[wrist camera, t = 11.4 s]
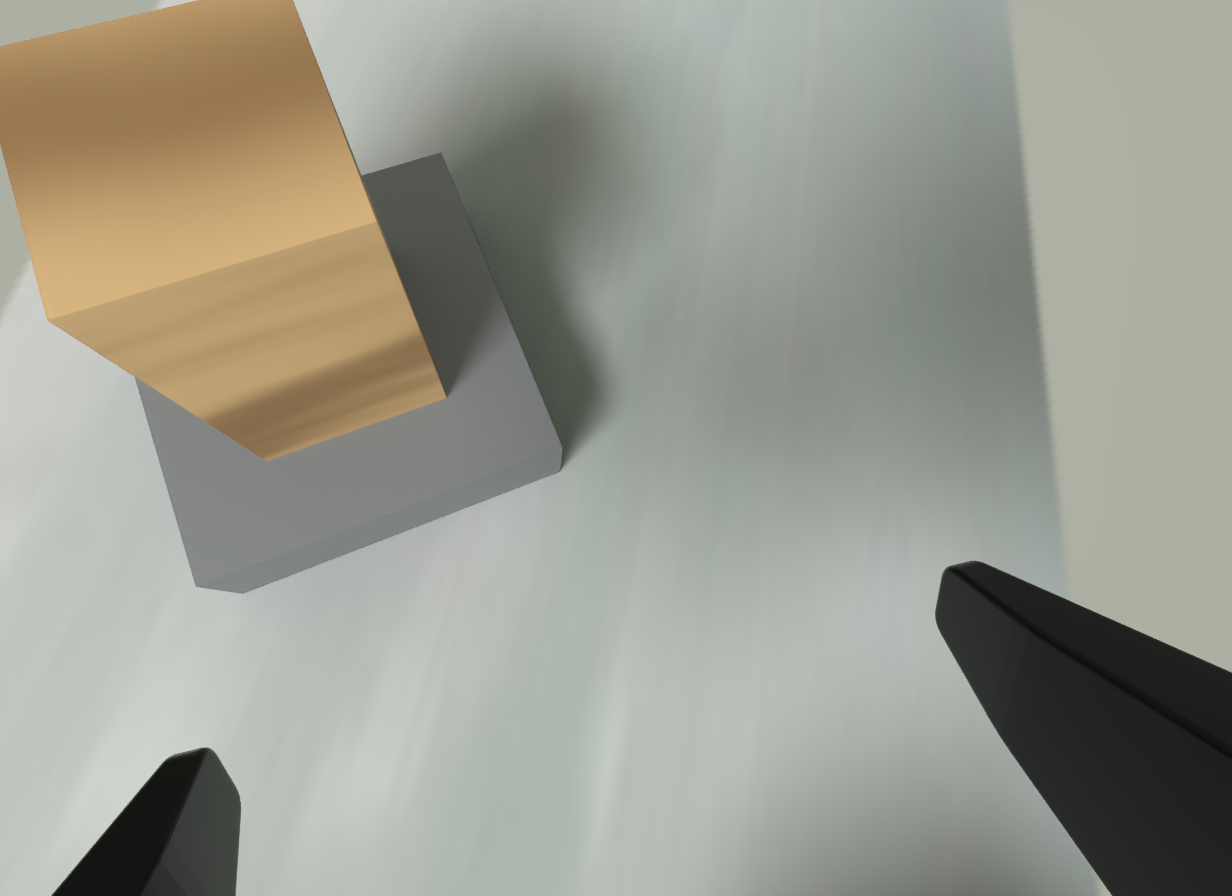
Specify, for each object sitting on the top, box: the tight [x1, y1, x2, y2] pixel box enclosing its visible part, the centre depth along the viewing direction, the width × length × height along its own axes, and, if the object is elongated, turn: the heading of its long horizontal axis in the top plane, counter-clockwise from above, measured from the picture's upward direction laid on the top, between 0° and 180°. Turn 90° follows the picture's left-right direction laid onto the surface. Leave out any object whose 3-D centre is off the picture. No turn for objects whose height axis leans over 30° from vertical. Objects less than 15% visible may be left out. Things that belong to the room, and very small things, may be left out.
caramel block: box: [0, 0, 447, 461], centre depth 16 cm, size 5×5×9 cm
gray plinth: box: [135, 153, 563, 594], centre depth 22 cm, size 10×10×3 cm
